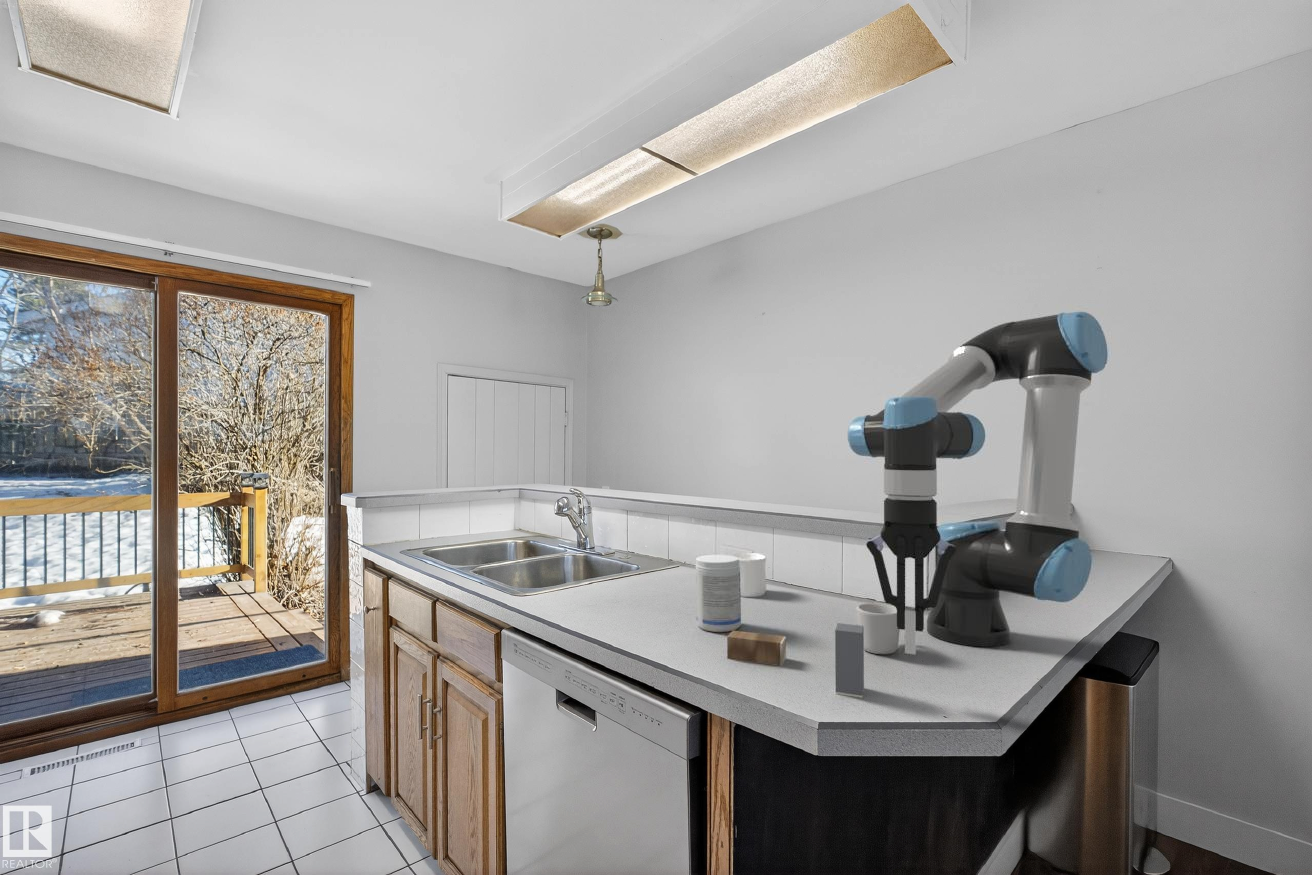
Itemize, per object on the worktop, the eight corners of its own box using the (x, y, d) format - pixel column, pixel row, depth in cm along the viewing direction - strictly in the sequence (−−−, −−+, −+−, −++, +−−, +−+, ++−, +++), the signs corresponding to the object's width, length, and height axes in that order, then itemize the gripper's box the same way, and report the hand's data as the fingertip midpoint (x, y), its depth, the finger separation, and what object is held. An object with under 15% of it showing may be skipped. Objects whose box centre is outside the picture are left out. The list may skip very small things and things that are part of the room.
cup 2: (871, 637, 124) (870, 597, 124) (911, 645, 119) (911, 604, 119) (850, 651, 115) (850, 609, 115) (893, 661, 110) (892, 616, 110)
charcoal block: (863, 687, 98) (863, 625, 98) (862, 697, 95) (861, 632, 95) (838, 684, 100) (837, 622, 100) (835, 693, 96) (835, 630, 96)
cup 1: (731, 597, 156) (731, 559, 156) (728, 588, 166) (727, 552, 166) (768, 598, 155) (768, 559, 155) (763, 588, 165) (763, 552, 165)
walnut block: (786, 636, 112) (732, 630, 116) (781, 643, 108) (727, 636, 112) (786, 658, 112) (733, 651, 116) (782, 665, 108) (727, 658, 112)
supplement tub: (750, 628, 130) (749, 559, 130) (715, 636, 125) (715, 564, 125) (721, 617, 138) (720, 552, 138) (687, 624, 133) (686, 556, 133)
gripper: (955, 496, 95) (955, 648, 95) (866, 494, 100) (866, 638, 100) (959, 501, 88) (959, 665, 88) (863, 497, 93) (864, 653, 93)
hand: (910, 650), depth 94 cm, fingers closed
